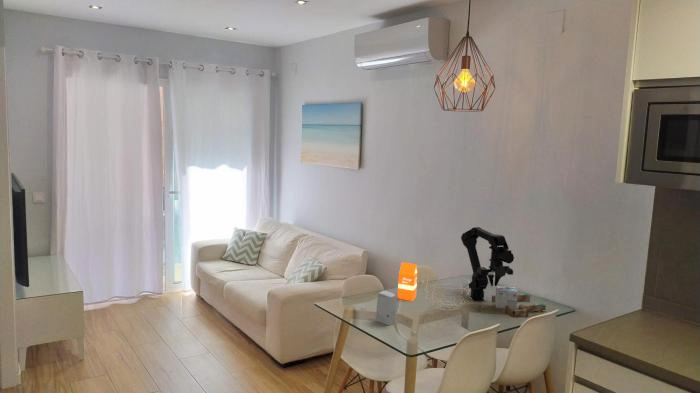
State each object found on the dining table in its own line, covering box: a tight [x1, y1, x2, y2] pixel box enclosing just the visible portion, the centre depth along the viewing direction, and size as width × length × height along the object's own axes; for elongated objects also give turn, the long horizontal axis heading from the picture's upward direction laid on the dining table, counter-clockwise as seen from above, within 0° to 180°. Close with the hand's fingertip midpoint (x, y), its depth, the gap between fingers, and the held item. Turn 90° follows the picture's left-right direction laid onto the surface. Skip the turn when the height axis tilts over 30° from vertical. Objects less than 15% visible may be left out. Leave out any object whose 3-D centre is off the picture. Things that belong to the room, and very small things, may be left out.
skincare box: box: [375, 289, 398, 326], centre depth 248 cm, size 8×6×15 cm
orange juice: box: [397, 262, 418, 302], centre depth 284 cm, size 8×9×20 cm
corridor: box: [491, 293, 547, 318], centre depth 276 cm, size 23×23×4 cm
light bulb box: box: [494, 285, 519, 310], centre depth 277 cm, size 11×7×11 cm, turn 84°
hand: (493, 286), depth 274 cm, fingers closed
